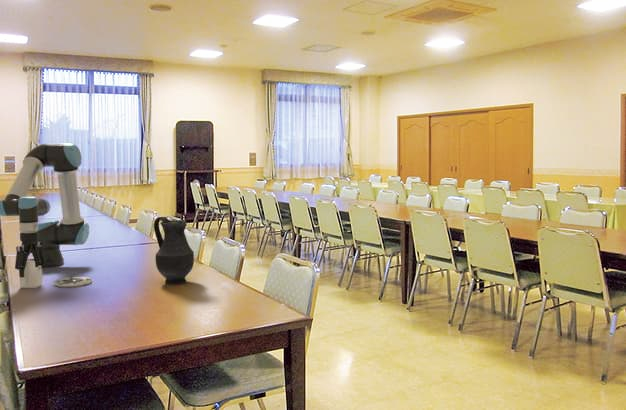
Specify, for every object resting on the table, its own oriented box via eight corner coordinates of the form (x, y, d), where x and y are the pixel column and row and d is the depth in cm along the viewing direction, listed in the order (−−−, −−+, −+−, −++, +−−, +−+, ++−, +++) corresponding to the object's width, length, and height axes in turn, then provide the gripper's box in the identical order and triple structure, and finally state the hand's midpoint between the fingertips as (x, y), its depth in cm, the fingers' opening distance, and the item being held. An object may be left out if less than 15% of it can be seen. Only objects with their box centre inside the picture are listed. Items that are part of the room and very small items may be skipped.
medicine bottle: (26, 284, 262) (25, 258, 261) (42, 284, 263) (41, 258, 262) (19, 288, 255) (18, 261, 254) (36, 287, 256) (35, 261, 255)
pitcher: (175, 288, 256) (173, 220, 253) (142, 282, 267) (140, 217, 264) (202, 281, 271) (201, 217, 268) (170, 275, 282) (168, 214, 279)
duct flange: (46, 286, 259) (45, 282, 259) (69, 278, 275) (69, 275, 275) (76, 288, 255) (76, 284, 255) (99, 280, 271) (99, 277, 271)
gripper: (18, 235, 245) (20, 287, 248) (53, 229, 266) (54, 277, 268) (3, 234, 247) (5, 286, 249) (39, 228, 268) (41, 276, 270)
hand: (31, 282), depth 259 cm, fingers closed on medicine bottle, 9 cm apart
